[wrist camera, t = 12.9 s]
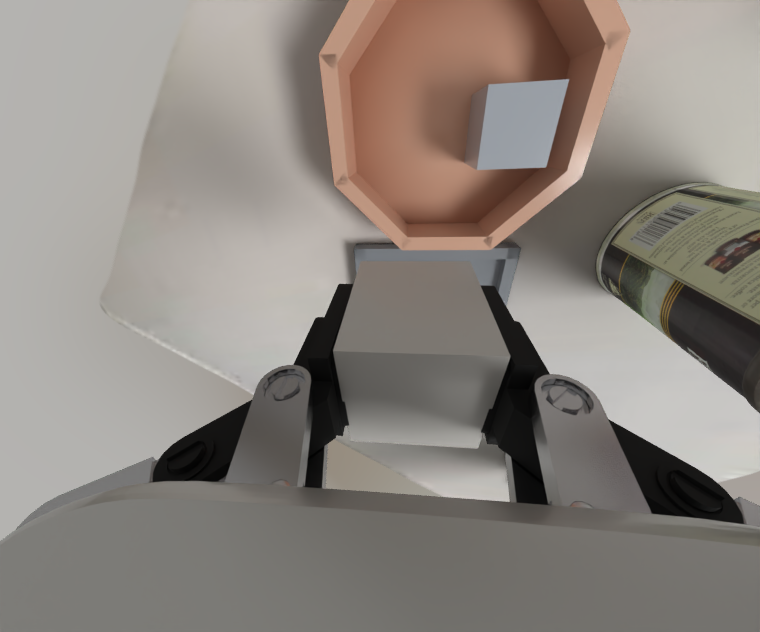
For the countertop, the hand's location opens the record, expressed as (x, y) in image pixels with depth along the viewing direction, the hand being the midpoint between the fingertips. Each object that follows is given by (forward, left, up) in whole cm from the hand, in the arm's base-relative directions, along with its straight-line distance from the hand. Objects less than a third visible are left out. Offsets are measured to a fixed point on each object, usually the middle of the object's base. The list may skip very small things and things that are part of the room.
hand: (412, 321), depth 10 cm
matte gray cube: (+6, -6, -15) cm, 18 cm away
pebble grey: (0, 0, -1) cm, 1 cm away
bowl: (+6, -3, -16) cm, 18 cm away
